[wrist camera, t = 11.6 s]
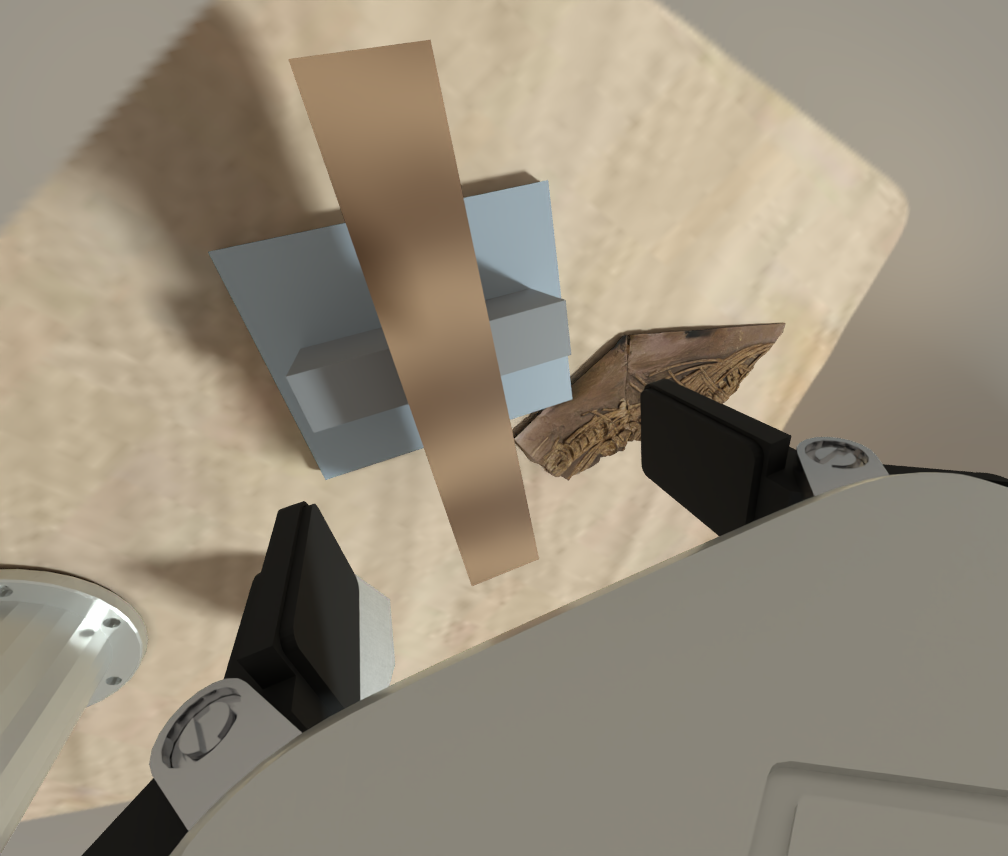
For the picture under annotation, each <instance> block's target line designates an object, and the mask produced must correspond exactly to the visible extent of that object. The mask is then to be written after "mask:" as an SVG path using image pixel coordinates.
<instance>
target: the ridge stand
mask: <svg viewBox="0 0 1008 856" xmlns="http://www.w3.org/2000/svg"><path fill="white" fill-rule="evenodd" d="M464 203H465V208H466V212H467V217H468V222H469V227H470V232H471V236H472V241H473V246H474V251H475V255H476V260H477V265H478V270H479V275H480V279H481V284H482V289H483V294H484V299H485V303H486V308H487V313H488V318H489V322H490V327H491V332H492V337H493V342H494V346H495V351H496V356H497V361H498V365H499V370H500V375H501V380H502V385H503V389H504V394H505V399H506V404H507V408H508V413H509V418H510V420H511V419H514V418H517V417H520V416H523V415H526V414H529V413H532V412H535V411H538V410H541V409H544V408H547V407H550V406H553V405H557V404H560V403H563V402H566V401H569V400H572V391H571V382H570V373H569V364H568V356H569V355H571V347H570V338H569V329H568V319H567V310H566V300H564V299H561V292H560V283H559V274H558V265H557V256H556V247H555V238H554V229H553V220H552V211H551V202H550V193H549V184H548V180H547V181H542V182H537V183H533V184H528V185H523V186H518V187H514V188H509V189H504V190H499V191H495V192H490V193H485V194H480V195H476V196H471V197H466V198H464ZM208 253H209V255H210V257H211V259H212V261H213V263H214V265H215V267H216V269H217V271H218V273H219V274H220V276H221V278H222V280H223V282H224V284H225V286H226V288H227V290H228V292H229V294H230V296H231V298H232V300H233V302H234V304H235V305H236V307H237V309H238V311H239V313H240V315H241V317H242V319H243V321H244V323H245V325H246V327H247V329H248V331H249V333H250V335H251V336H252V338H253V340H254V342H255V344H256V346H257V348H258V350H259V352H260V354H261V356H262V358H263V360H264V362H265V364H266V365H267V367H268V369H269V371H270V373H271V375H272V377H273V379H274V381H275V383H276V385H277V387H278V389H279V391H280V393H281V395H282V396H283V398H284V400H285V402H286V404H287V406H288V408H289V410H290V412H291V414H292V416H293V418H294V420H295V422H296V424H297V426H298V427H299V429H300V431H301V433H302V435H303V437H304V439H305V441H306V443H307V445H308V447H309V449H310V451H311V453H312V455H313V457H314V458H315V460H316V462H317V464H318V466H319V468H320V470H321V472H322V474H323V476H324V478H325V480H327V479H330V478H333V477H336V476H339V475H342V474H345V473H348V472H351V471H354V470H358V469H361V468H364V467H367V466H370V465H373V464H376V463H379V462H382V461H385V460H388V459H391V458H394V457H397V456H400V455H403V454H407V453H410V452H413V451H416V450H419V449H422V448H424V447H423V444H422V441H421V438H420V435H419V433H418V430H417V427H416V424H415V421H414V418H413V415H412V413H411V410H410V407H409V404H408V401H407V398H406V395H405V392H404V390H403V387H402V384H401V381H400V378H399V375H398V372H397V369H396V367H395V364H394V361H393V358H392V355H391V352H390V349H389V346H388V344H387V341H386V338H385V335H384V332H383V329H382V326H381V323H380V321H379V318H378V315H377V312H376V309H375V306H374V303H373V300H372V298H371V295H370V292H369V289H368V286H367V283H366V280H365V278H364V275H363V272H362V269H361V266H360V263H359V260H358V257H357V255H356V252H355V249H354V246H353V243H352V240H351V237H350V234H349V232H348V229H347V226H346V223H343V224H338V225H333V226H328V227H324V228H319V229H314V230H309V231H305V232H300V233H295V234H290V235H286V236H281V237H276V238H271V239H267V240H262V241H257V242H252V243H248V244H243V245H238V246H233V247H229V248H224V249H219V250H214V251H210V252H208Z"/></svg>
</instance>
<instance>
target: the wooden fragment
mask: <svg viewBox="0 0 1008 856" xmlns="http://www.w3.org/2000/svg"><path fill="white" fill-rule="evenodd" d="M784 327H785V323H780V324H769V325H768V324H767V325H755V326H743V327H730V328H718V329H708V330H696V331H694V330H692V331H680V332H679V331H677V332H663V333H659V334H657V333H655V334H652V335H651V334H638V335H624V336H623V337H622V338H621V339H620V340H619V341H618V342H617V344H616V346H615V347H614V348H612V349H611V350H610V351H609V352H608V353H607V354H606V355H605V356H603V358H602V359H600V360H599V361H598V362H597V363H596V364H595V365H593V366H592V367H591V368H590V369H589V370H588V371H587V372H586V373H585V374H583V375H582V376H581V377H580V378H579V379H578V380H577V381H576V382H575V383H574V384H573V385H571V391H572V400H569V401H566V402H563V403H560V404H557V405H553V406H550V407H547V408H546V409H544V410H543V411H542V413H541V414H539V415H538V416H537V417H536V418H535V419H534V420H533V421H532V422H531V423H530V424H529V425H528V426H527V427H526V428H525V429H524V430H523V431H522V432H521V433H520V434H519V435H518V436H517V437H516V438H514V442H515V443H516V444H517V445H518V446H519V447H520V448H521V449H522V450H523V452H524V453H525V455H526V456H527V458H528V459H529V460H530V461H532V462H534V463H537V464H541V465H543V466H544V467H545V468H546V469H547V470H548V471H549V473H550V474H551V475H553V476H555V477H559V476H562V477H564V478H566V479H567V480H570V478H571V477H572V476H573V475H576V474H579V473H580V472H582V471H584V470H586V469H589V468H590V467H592V466H594V465H595V464H597V463H598V462H599V460H600V457H606V456H607V455H608V456H611V455H613V454H615V453H617V452H618V451H624V450H625V446H626V444H627V441H633V440H636V441H641V411H640V394H641V392H642V391H644V388H645V386H646V385H647V384H649V383H652V382H655V381H658V380H661V379H669V380H671V381H673V382H675V383H678V384H680V385H682V386H684V387H686V388H688V389H691V390H693V391H695V392H697V393H699V394H701V395H704V396H706V397H708V398H710V399H712V400H715V401H717V402H719V403H721V404H723V403H724V402H725V401H727V400H728V399H729V396H731V395H732V394H733V393H734V392H736V391H737V389H738V388H739V384H740V383H741V381H742V380H743V379H744V378H745V377H746V376H747V375H748V374H749V372H750V371H751V370H752V369H753V368H754V367H753V366H754V364H755V363H756V362H757V361H758V360H759V359H760V358H761V357H762V356H763V355H765V354H766V353H767V352H768V351H769V350H770V348H771V347H772V346H773V344H774V343H775V342H776V340H777V339H778V337H779V336H780V335H781V334H782V333H783V329H784ZM628 336H630V345H627V339H628V338H627V337H628Z"/></svg>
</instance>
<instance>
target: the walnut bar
mask: <svg viewBox="0 0 1008 856" xmlns="http://www.w3.org/2000/svg"><path fill="white" fill-rule="evenodd" d="M289 62H290V65H291V68H292V71H293V74H294V76H295V79H296V82H297V85H298V88H299V91H300V94H301V97H302V99H303V102H304V105H305V108H306V111H307V114H308V117H309V120H310V122H311V125H312V128H313V131H314V134H315V137H316V140H317V142H318V145H319V148H320V151H321V154H322V157H323V160H324V163H325V165H326V168H327V171H328V174H329V177H330V180H331V183H332V186H333V188H334V191H335V194H336V197H337V200H338V203H339V206H340V209H341V211H342V214H343V217H344V220H345V223H346V226H347V229H348V232H349V234H350V237H351V240H352V243H353V246H354V249H355V252H356V255H357V257H358V260H359V263H360V266H361V269H362V272H363V275H364V278H365V280H366V283H367V286H368V289H369V292H370V295H371V298H372V300H373V303H374V306H375V309H376V312H377V315H378V318H379V321H380V323H381V326H382V329H383V332H384V335H385V338H386V341H387V344H388V346H389V349H390V352H391V355H392V358H393V361H394V364H395V367H396V369H397V372H398V375H399V378H400V381H401V384H402V387H403V390H404V392H405V395H406V398H407V401H408V404H409V407H410V410H411V413H412V415H413V418H414V421H415V424H416V427H417V430H418V433H419V435H420V438H421V441H422V444H423V447H424V450H425V453H426V456H427V458H428V461H429V464H430V467H431V470H432V473H433V476H434V479H435V481H436V484H437V487H438V490H439V493H440V496H441V499H442V502H443V504H444V507H445V510H446V513H447V516H448V519H449V522H450V525H451V527H452V530H453V533H454V536H455V539H456V542H457V545H458V548H459V550H460V553H461V556H462V559H463V562H464V565H465V568H466V570H467V573H468V576H469V579H470V582H471V585H472V586H474V585H476V584H479V583H481V582H484V581H486V580H488V579H491V578H493V577H496V576H498V575H501V574H503V573H506V572H508V571H511V570H513V569H516V568H518V567H521V566H523V565H525V564H528V563H530V562H533V561H535V560H538V559H539V557H538V552H537V547H536V542H535V538H534V533H533V528H532V523H531V518H530V514H529V509H528V504H527V499H526V495H525V490H524V485H523V480H522V475H521V471H520V466H519V461H518V456H517V452H516V447H515V442H514V437H513V432H512V428H511V423H510V418H509V413H508V408H507V404H506V399H505V394H504V389H503V385H502V380H501V375H500V370H499V365H498V361H497V356H496V351H495V346H494V342H493V337H492V332H491V327H490V322H489V318H488V313H487V308H486V303H485V299H484V294H483V289H482V284H481V279H480V275H479V270H478V265H477V260H476V255H475V251H474V246H473V241H472V236H471V232H470V227H469V222H468V217H467V212H466V208H465V203H464V198H463V193H462V189H461V184H460V179H459V174H458V169H457V165H456V160H455V155H454V150H453V145H452V141H451V136H450V131H449V126H448V122H447V117H446V112H445V107H444V102H443V98H442V93H441V88H440V83H439V79H438V74H437V69H436V64H435V59H434V55H433V50H432V45H431V40H426V41H418V42H411V43H404V44H396V45H389V46H382V47H374V48H367V49H360V50H352V51H345V52H337V53H330V54H323V55H315V56H308V57H301V58H293V59H289Z"/></svg>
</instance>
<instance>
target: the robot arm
mask: <svg viewBox="0 0 1008 856" xmlns="http://www.w3.org/2000/svg"><path fill="white" fill-rule="evenodd" d="M640 411H641V462H642V469H643V471H644V473H645V475H646V476H647V477H648V478H649V479H651V480H652V481H653V482H654V483H656V484H657V485H658V486H659V487H660V488H662V489H663V490H664V491H665V492H666V493H668V494H669V495H670V496H671V497H672V498H674V499H675V500H676V501H677V502H679V503H680V504H681V505H682V506H683V507H685V508H686V509H687V510H688V511H689V512H691V513H692V514H693V515H694V516H695V517H697V518H698V519H699V520H700V521H702V522H703V523H704V524H705V525H706V526H708V527H709V528H710V529H711V530H712V531H714V532H715V533H716V534H717V535H718V536H719V537H717V538H715V539H713V540H710V541H708V542H706V543H704V544H701V545H699V546H697V547H694V548H692V549H690V550H688V551H685V552H683V553H681V554H679V555H676V556H674V557H672V558H670V559H667V560H665V561H663V562H661V563H658V564H656V565H654V566H652V567H649V568H647V569H645V570H643V571H640V572H638V573H636V574H634V575H631V576H629V577H627V578H625V579H623V580H620V581H618V582H616V583H614V584H611V585H609V586H607V587H605V588H602V589H600V590H598V591H596V592H594V593H591V594H589V595H587V596H585V597H582V598H580V599H578V600H576V601H573V602H571V603H569V604H567V605H565V606H562V607H560V608H558V609H556V610H553V611H551V612H549V613H547V614H545V615H542V616H540V617H538V618H536V619H534V620H531V621H529V622H527V623H525V624H523V625H520V626H518V627H516V628H514V629H512V630H509V631H507V632H505V633H503V634H501V635H498V636H496V637H494V638H492V639H490V640H487V641H485V642H483V643H481V644H479V645H476V646H474V647H472V648H470V649H468V650H465V651H463V652H461V653H459V654H457V655H454V656H452V657H450V658H448V659H446V660H444V661H442V662H439V663H437V664H435V665H433V666H431V667H429V668H427V669H425V670H423V671H420V672H418V673H416V674H414V675H412V676H410V677H408V678H406V679H404V680H401V681H399V682H397V683H395V684H393V685H391V686H389V687H387V688H385V689H382V690H380V691H378V692H376V693H374V694H372V695H370V696H368V697H366V698H364V699H362V700H360V609H359V585H358V581H357V578H356V576H355V574H354V572H353V570H352V568H351V567H350V565H349V563H348V561H347V559H346V557H345V556H344V554H343V552H342V550H341V548H340V546H339V545H338V543H337V541H336V539H335V537H334V536H333V534H332V532H331V530H330V528H329V526H328V525H327V523H326V521H325V519H324V517H323V516H322V514H321V512H320V510H319V508H318V507H317V505H316V504H312V505H308V504H307V503H306V502H304V501H303V502H300V503H297V504H294V505H291V506H288V507H285V508H282V509H280V510H279V511H278V514H277V517H276V521H275V524H274V528H273V532H272V535H271V539H270V542H269V546H268V549H267V553H266V556H265V560H264V564H263V567H262V571H261V573H259V574H258V575H256V576H255V578H254V580H253V582H252V586H251V589H250V592H249V596H248V599H247V603H246V606H245V609H244V613H243V616H242V619H241V623H240V626H239V629H238V633H237V636H236V640H235V643H234V646H233V650H232V653H231V656H230V660H229V663H228V666H227V670H226V673H225V677H224V680H221V681H218V682H215V683H212V684H211V685H209V686H207V687H205V688H204V689H202V690H200V691H199V692H197V693H196V694H195V695H194V696H192V697H191V698H190V699H189V700H187V701H186V702H185V703H184V704H183V705H182V706H181V707H180V708H179V709H178V710H177V711H176V712H175V713H174V714H173V716H172V717H171V718H170V719H169V720H168V722H167V723H166V725H165V726H164V728H163V729H162V731H161V732H160V733H159V735H158V738H157V740H156V742H155V744H154V746H153V748H152V752H151V757H150V763H149V765H150V769H151V773H152V776H153V777H154V778H153V779H152V780H151V781H150V782H149V784H148V785H147V786H146V787H145V788H144V789H143V790H142V791H141V792H140V793H139V794H138V795H137V796H136V798H135V799H134V800H133V801H132V802H131V803H130V804H129V805H128V806H127V807H126V808H125V809H124V811H123V812H122V813H121V814H120V815H119V816H118V817H117V818H116V819H115V820H114V821H113V822H112V824H111V825H110V826H109V827H108V828H107V829H106V830H105V831H104V832H103V833H102V834H101V835H100V836H99V838H98V839H97V840H96V841H95V842H94V843H93V844H92V845H91V846H90V847H89V848H88V849H87V850H86V851H85V853H84V854H83V855H82V856H1008V479H1006V478H1004V477H1001V476H998V475H994V474H989V473H973V472H965V471H953V470H941V469H929V468H918V467H907V466H895V465H883V464H882V463H881V462H880V460H879V458H878V457H877V456H876V455H875V454H874V453H873V452H872V451H871V450H870V449H868V448H867V447H865V446H863V445H861V444H858V443H856V442H853V441H850V440H845V439H841V438H833V437H815V438H810V439H806V440H804V441H803V442H801V443H799V445H798V446H797V449H796V450H795V449H793V448H791V447H789V445H790V440H791V435H788V434H786V433H784V432H782V431H780V430H778V429H776V428H773V427H771V426H769V425H767V424H765V423H762V422H760V421H758V420H756V419H754V418H752V417H749V416H747V415H745V414H743V413H741V412H739V411H736V410H734V409H732V408H730V407H728V406H725V405H723V404H721V403H719V402H717V401H715V400H712V399H710V398H708V397H706V396H704V395H701V394H699V393H697V392H695V391H693V390H691V389H688V388H686V387H684V386H682V385H680V384H678V383H675V382H673V381H671V380H669V379H661V380H658V381H655V382H652V383H649V384H647V385H646V386H645V388H644V391H642V392H641V394H640ZM147 644H148V635H147V629H146V626H145V624H144V622H143V620H142V618H141V616H140V615H139V614H138V613H137V611H136V610H135V609H134V608H133V607H132V606H131V605H130V604H129V603H128V602H126V601H125V600H123V599H122V598H121V597H119V596H118V595H116V594H115V593H113V592H111V591H109V590H107V589H105V588H103V587H101V586H99V585H97V584H94V583H91V582H88V581H85V580H82V579H79V578H76V577H73V576H68V575H63V574H57V573H52V572H47V571H35V570H24V569H0V855H1V853H2V852H3V850H4V848H5V846H6V845H7V843H8V841H9V839H10V837H11V836H12V834H13V833H14V831H15V829H16V827H17V826H18V824H19V822H20V820H21V819H22V817H23V815H24V814H25V812H26V810H27V808H28V807H29V805H30V803H31V801H32V800H33V798H34V796H35V795H36V793H37V791H38V789H39V788H40V786H41V784H42V782H43V781H44V779H45V777H46V776H47V774H48V772H49V770H50V769H51V767H52V765H53V763H54V762H55V760H56V758H57V757H58V755H59V753H60V751H61V750H62V748H63V746H64V744H65V743H66V741H67V739H68V738H69V736H70V734H71V732H72V731H73V729H74V727H75V725H76V724H77V722H78V720H79V718H80V717H81V715H82V713H83V712H84V710H85V708H86V707H89V706H91V705H93V704H95V703H97V702H100V701H102V700H104V699H105V698H107V697H108V696H110V695H112V694H113V693H115V692H116V691H118V690H119V689H120V688H121V687H122V686H124V685H125V684H126V683H127V682H128V681H129V680H130V679H131V678H132V676H133V675H134V673H135V672H136V670H137V669H138V667H139V665H140V663H141V661H142V659H143V657H144V655H145V653H146V649H147Z"/></svg>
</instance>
